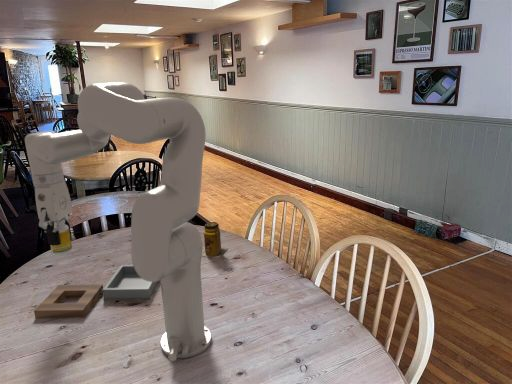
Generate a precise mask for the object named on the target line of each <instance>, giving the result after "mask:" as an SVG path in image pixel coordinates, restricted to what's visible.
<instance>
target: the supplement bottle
mask: <svg viewBox="0 0 512 384" xmlns="http://www.w3.org/2000/svg"><path fill="white" fill-rule="evenodd" d="M48 221H51V219H48ZM49 225H51V226H52V223H49ZM57 231H59V236H60V242H61V244H60V245H49V246H50V251H51V253H52V254H53V255H65V254H68V253H70V252H71V251H72V250H73V243H72V239H71V236H70V232H69V227H68V226H67V225H66V224H65V219H64V218H63V219H61V220H60V221H58V222H57Z"/></svg>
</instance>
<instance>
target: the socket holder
mask: <svg viewBox="0 0 512 384" xmlns="http://www.w3.org/2000/svg"><path fill="white" fill-rule="evenodd" d="M103 288H104V284H101V283H99V284H58V285H57V286H56V287H55V289H53V290H52V292H50V294H48V296H47V297H46V298H44V300H43V301H42V302H41V303H40V304H39V305H37V306H36V308H35V309H34V310H33V312H34V317H35V319H77V318H78V319H81V318H82V319H83V318H86V316H87V315H88V313H89V312H90V311H91V309H92V308H93V307H94V306H95V304H96V303H97V301H98V300H99V299H100V297H101V296H103V291H102V290H103ZM75 298H76V299H79V300H77V302H72V303H71V302H69V303H68V302H67V303H65V302H64V300H65V299H75ZM62 301H63V302H62Z"/></svg>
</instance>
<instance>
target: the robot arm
mask: <svg viewBox="0 0 512 384" xmlns="http://www.w3.org/2000/svg"><path fill="white" fill-rule="evenodd" d="M77 110H78V113H77V116H76V117H77V118H76V122H77V126H78V128H79V129H74V130H68V131H62V132H57V133H53V132H50V131H42V132H41V131H40V132H32V133H28V134H26V136H25V137H24V143H25V150H26V153H27V159H28V162H29V163H28V164H29V168H30V173H31V179H32V184H33V187H34V196H35V197H34V198H35V205H36V211H37V212H36V213H37V215H38V219H39V222H38V227H39V228H41V229H43V231H44V233H46V239H47V245H49V246H50V245H60V244H61V242H60V236H59V231H57V222H58V221H60V220H61V219H63V218H64V219H65V224H66V225H67V226H68V227H69V232H70V237H71V236H72V232H71V226H70V217H69V216H70V214H71V213H72V211H73V205H72V200H71V196H70V192H69V188H68V186H67V183H66V180H65V177H64V176H65V175H64V171H63V165H62V164H63V163H67V162H71V161H75V160H79V159H84V158H87V157H90V156H92V155H94V154H95V153H97V152H98V151H100V150H102V149H103V148H104V147H106V146H107V145H108V143H109V140H110V137H111V136H114V137H116V138H118V139H120V140H123V141H124V142H128V143H131V144H136V145H143V144H144V145H145V144H150V143H153V142H154V143H155V142H158V141H163V140H166V139H169V143H168V146H167V148H166V150H165V153H164V155H163V158H162V164H161V181H160V183H159V185H158V186H157V187H154V188H152V189H150V190H146V191H145V192H144V193H142V194H140V195H139V196H138V198H137V199H136V200H135V202H134V204H133V207H132V210H131V218H130V219H131V220H130V221H131V225H130V227H131V228H130V229H131V230H130V237H131V239H130V241H131V242H130V243H131V244H130V246H131V247H130V253H131V254H130V255H131V262H132V263H131V264H132V265H133V266H134V269H135V271H136V272H137V274H138V275H139V276H140V277H141V278H142V279H144V280H146V281H149V282H155V281H159V282H160V287H161V296H162V297H161V299H162V307H163V318H164V326H165V332H164V334H163V335H162V336H161V339H160V348H161V350H162V351H163V353H164V354H166V355H167V356H168V357H167V358H168V360H169V361H172V362H174V361H176V360H177V359H186V358H193V357H195V356H198V355H199V354H201V353H204V352H205V350H207V349H208V347H209V346H210V345H211V342H212V333H211V330H210V329H209V327H207V326H205V316H204V306H203V305H204V304H203V303H204V301H203V291H202V290H203V289H202V277H201V275H202V274H201V270H202V269H201V265H202V257H203V256H202V255H203V239H202V236H201V232H200V231H199V229H198V228H197V226H195V225H194V224H192V223H190V222H189V221H190V220H192V219H194V217H196V215H197V214H198V213H199V208H200V201H201V200H200V199H201V188H202V187H201V186H202V176H203V173H202V171H203V161H204V154H205V148H206V147H205V145H206V138H207V137H206V127H205V126H206V125H205V123H204V120H203V117H202V115H201V114H200V111H198V109H197V108H196V107H195V106H194V105H193V104H192V103H191V102H189V101H187V100H185V99H182V98H178V97H171V96H170V97H160V98H159V97H156V98H149V99H145V95H144V94H143V92H142V91H141V89H139V88H138V87H137V86H136V85H134V84H132V83H128V82H103V83H102V82H99V83H93V84H88V86H87V85H86V86H85V87H84V88H83V89H82V90H81V92H80V93H79V95H78V97H77ZM49 220H51V221H49ZM49 223H52V226H51V225H49Z"/></svg>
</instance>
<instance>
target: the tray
mask: <svg viewBox="0 0 512 384" xmlns="http://www.w3.org/2000/svg"><path fill="white" fill-rule="evenodd" d="M159 282H160V280H159V281H155V282H149V281H146V280H144V279H142V278H141V277H140V276H139V275H138V274H137V272H136V271H135V269H134V266H133V264H120V266H119V267H118V268H117V269H116V270H115V272H114V274H113V275H112V276H111V278H110V279H109V280H108V281H107V283H106V284H105V286H103V290H102V291H103V293H102V296H103V301H113V300H114V301H118V300H119V301H120V300H121V301H122V300H124V301H125V300H132V301H133V300H151V297H152V296H153V294H154V291H155V290H156V287H157V285H158V284H159Z"/></svg>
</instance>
